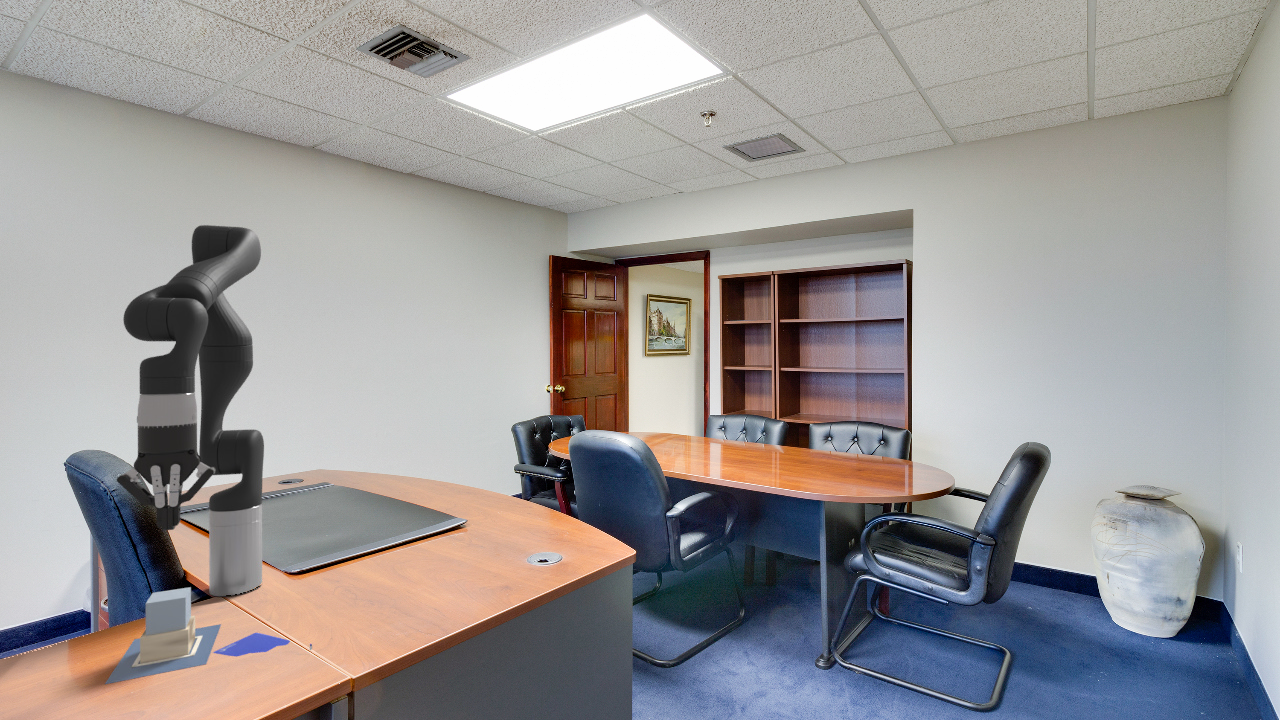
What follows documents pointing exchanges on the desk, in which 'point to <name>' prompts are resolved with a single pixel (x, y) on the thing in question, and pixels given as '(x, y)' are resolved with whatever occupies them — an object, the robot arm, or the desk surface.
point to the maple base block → (167, 643)
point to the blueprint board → (196, 657)
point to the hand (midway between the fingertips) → (168, 529)
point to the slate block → (168, 611)
